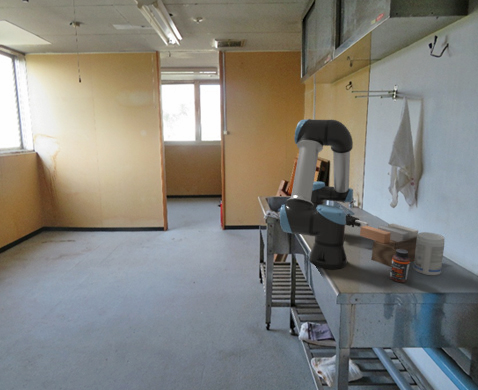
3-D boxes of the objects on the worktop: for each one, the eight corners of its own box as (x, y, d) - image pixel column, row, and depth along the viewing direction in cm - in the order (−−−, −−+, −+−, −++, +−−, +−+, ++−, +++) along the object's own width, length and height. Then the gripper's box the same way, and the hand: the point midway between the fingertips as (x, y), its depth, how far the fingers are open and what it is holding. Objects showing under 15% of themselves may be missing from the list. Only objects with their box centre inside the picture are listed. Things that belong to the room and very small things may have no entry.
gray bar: (377, 235, 154) (378, 226, 153) (382, 234, 156) (383, 225, 155) (402, 243, 144) (403, 234, 143) (407, 241, 146) (408, 232, 145)
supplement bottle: (388, 280, 128) (391, 251, 125) (391, 274, 133) (394, 246, 130) (406, 284, 125) (410, 255, 122) (408, 278, 130) (411, 250, 127)
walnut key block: (371, 259, 147) (373, 236, 145) (400, 250, 159) (402, 228, 156) (393, 268, 139) (396, 243, 137) (422, 258, 150) (425, 235, 148)
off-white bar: (386, 233, 157) (387, 224, 156) (392, 231, 159) (393, 223, 159) (412, 240, 147) (413, 231, 147) (417, 239, 150) (418, 230, 149)
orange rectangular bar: (359, 235, 153) (360, 226, 152) (365, 234, 155) (366, 225, 154) (383, 243, 143) (384, 234, 142) (389, 241, 145) (390, 232, 144)
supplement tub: (440, 269, 139) (445, 234, 136) (440, 278, 130) (446, 241, 127) (413, 264, 143) (417, 230, 140) (412, 272, 135) (417, 236, 132)
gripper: (337, 219, 183) (375, 231, 164) (319, 223, 177) (357, 236, 157) (338, 206, 182) (377, 216, 162) (320, 209, 175) (358, 220, 156)
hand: (367, 226), depth 160 cm, fingers closed
